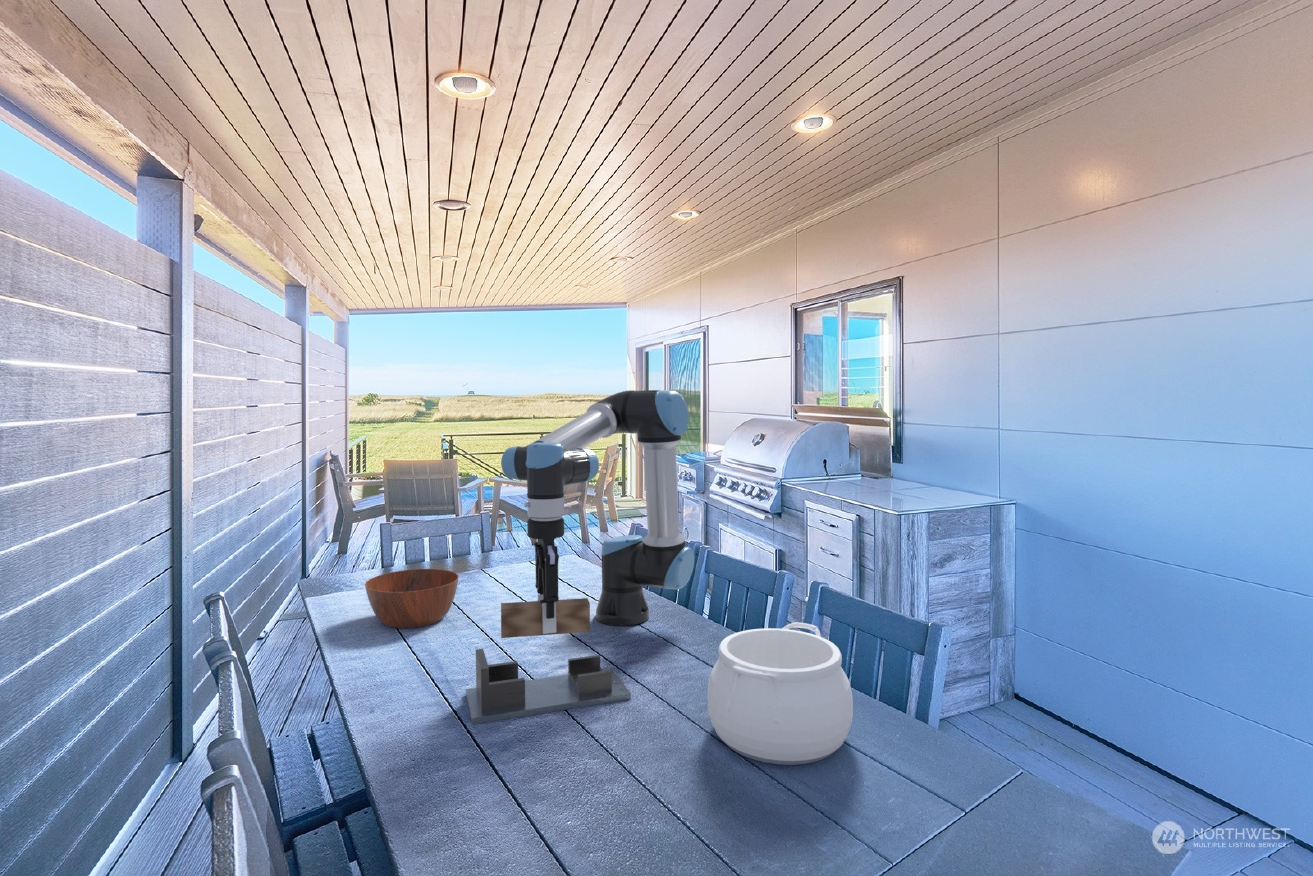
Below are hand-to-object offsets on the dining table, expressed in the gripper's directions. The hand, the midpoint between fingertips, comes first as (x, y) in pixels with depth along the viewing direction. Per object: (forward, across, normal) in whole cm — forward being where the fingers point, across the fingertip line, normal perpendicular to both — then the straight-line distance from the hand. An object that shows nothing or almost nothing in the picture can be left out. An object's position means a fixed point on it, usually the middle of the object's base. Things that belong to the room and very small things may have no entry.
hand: (547, 628), depth 142 cm
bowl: (+15, -63, -26) cm, 70 cm away
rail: (+1, 0, 0) cm, 1 cm away
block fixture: (+15, 0, 0) cm, 15 cm away
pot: (+15, +31, +37) cm, 51 cm away
